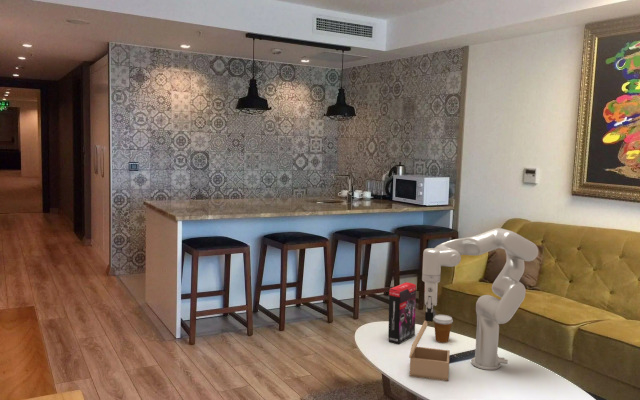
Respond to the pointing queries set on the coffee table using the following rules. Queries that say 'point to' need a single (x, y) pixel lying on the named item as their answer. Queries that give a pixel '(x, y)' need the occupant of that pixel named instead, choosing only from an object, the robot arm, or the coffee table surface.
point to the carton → (430, 363)
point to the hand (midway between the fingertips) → (429, 318)
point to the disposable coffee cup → (442, 327)
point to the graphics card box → (402, 312)
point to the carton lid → (420, 335)
